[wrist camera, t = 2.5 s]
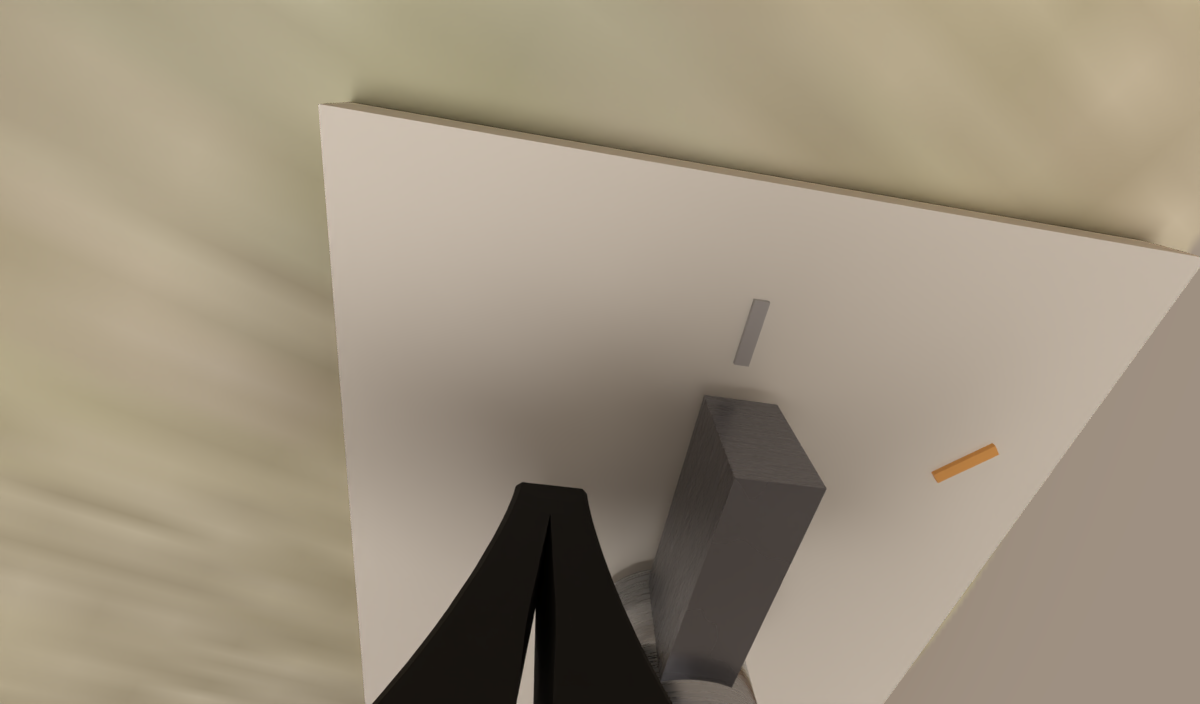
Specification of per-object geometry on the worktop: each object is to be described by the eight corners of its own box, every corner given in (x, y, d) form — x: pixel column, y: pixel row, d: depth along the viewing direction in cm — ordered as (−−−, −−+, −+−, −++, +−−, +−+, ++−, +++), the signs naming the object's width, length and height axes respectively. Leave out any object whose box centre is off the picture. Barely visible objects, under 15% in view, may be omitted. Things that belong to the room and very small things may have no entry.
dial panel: (828, 721, 19) (844, 762, 18) (380, 686, 17) (365, 730, 16) (1144, 241, 11) (1211, 260, 9) (349, 101, 9) (315, 104, 8)
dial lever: (710, 662, 14) (739, 802, 12) (584, 651, 14) (583, 792, 11) (821, 403, 11) (907, 519, 8) (650, 380, 10) (672, 493, 7)
